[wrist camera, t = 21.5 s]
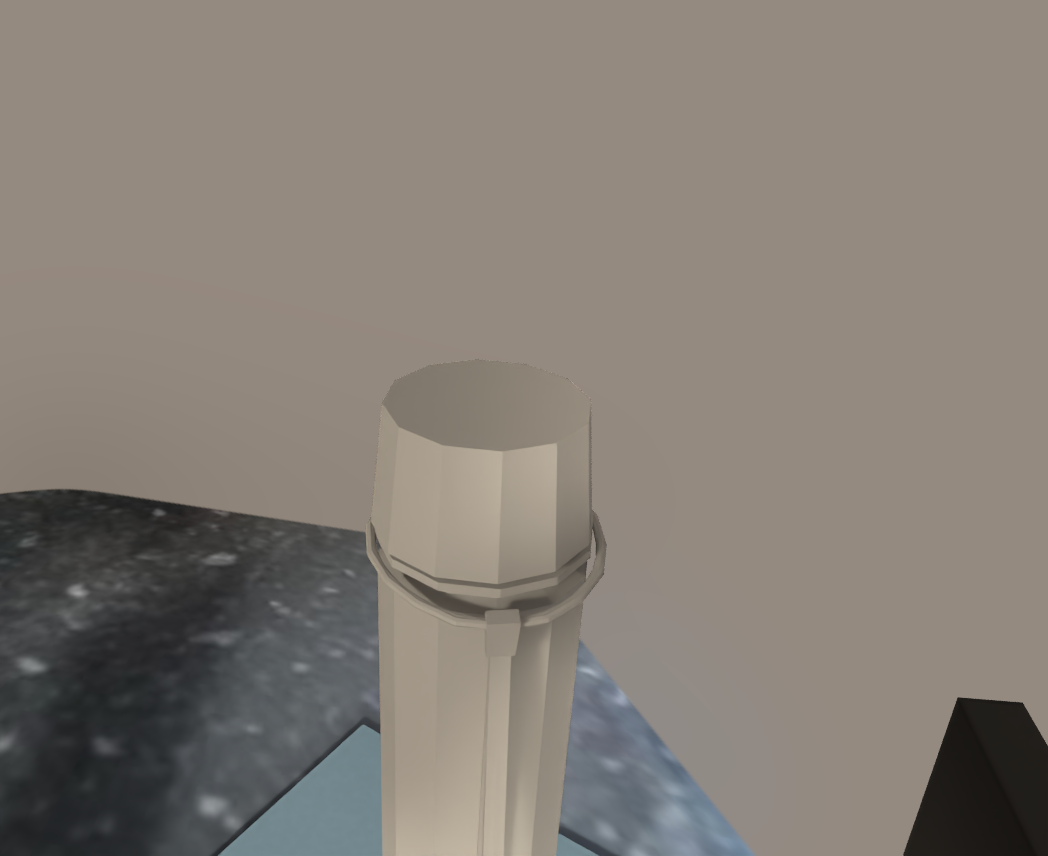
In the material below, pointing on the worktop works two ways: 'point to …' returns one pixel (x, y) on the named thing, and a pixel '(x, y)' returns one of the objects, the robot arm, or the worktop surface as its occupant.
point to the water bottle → (479, 603)
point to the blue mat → (335, 810)
